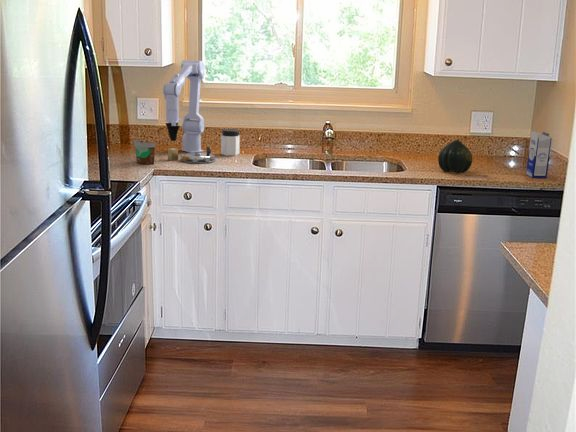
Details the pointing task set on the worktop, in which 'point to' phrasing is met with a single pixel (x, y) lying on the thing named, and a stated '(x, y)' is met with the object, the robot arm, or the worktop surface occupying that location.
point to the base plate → (198, 162)
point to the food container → (144, 152)
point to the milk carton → (539, 155)
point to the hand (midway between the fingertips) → (172, 139)
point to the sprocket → (198, 156)
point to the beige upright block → (172, 154)
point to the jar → (230, 142)
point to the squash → (455, 157)
